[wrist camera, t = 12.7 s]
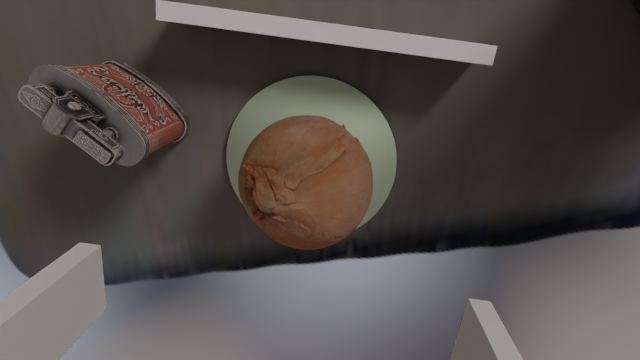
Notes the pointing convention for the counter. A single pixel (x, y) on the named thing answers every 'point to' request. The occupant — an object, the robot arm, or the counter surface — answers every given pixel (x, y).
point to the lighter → (105, 110)
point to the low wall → (325, 32)
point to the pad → (326, 102)
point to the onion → (306, 182)
